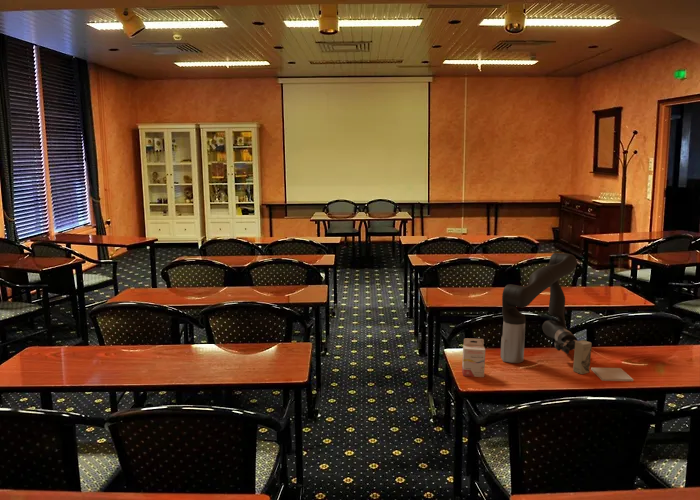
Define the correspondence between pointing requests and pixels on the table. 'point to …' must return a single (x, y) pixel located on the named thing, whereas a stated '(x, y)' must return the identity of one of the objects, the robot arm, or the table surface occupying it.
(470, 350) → the ink cartridge box
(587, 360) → the box
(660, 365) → the table surface
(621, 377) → the board
